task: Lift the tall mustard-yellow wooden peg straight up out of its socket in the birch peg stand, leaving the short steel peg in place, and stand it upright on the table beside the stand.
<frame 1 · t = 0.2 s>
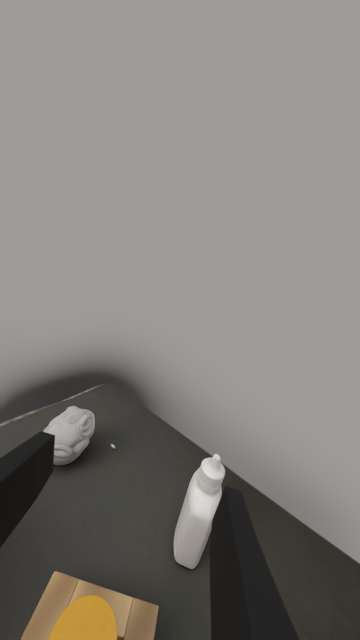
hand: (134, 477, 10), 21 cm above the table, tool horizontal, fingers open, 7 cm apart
frog figurine: (65, 457, 33), on the table
eye dropper bottle: (188, 539, 27), on the table
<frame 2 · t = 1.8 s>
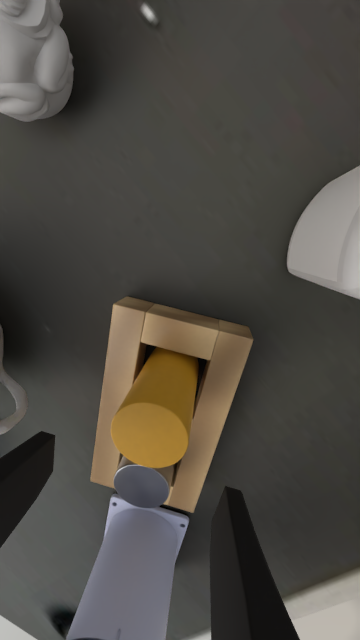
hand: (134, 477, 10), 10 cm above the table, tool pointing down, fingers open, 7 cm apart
frog figurine: (55, 83, 15), on the table
steel peg: (157, 433, 21), resting in peg stand
eye dropper bottle: (319, 234, 15), on the table
yellow peg: (173, 365, 19), resting in peg stand
peg stand: (165, 401, 20), on the table
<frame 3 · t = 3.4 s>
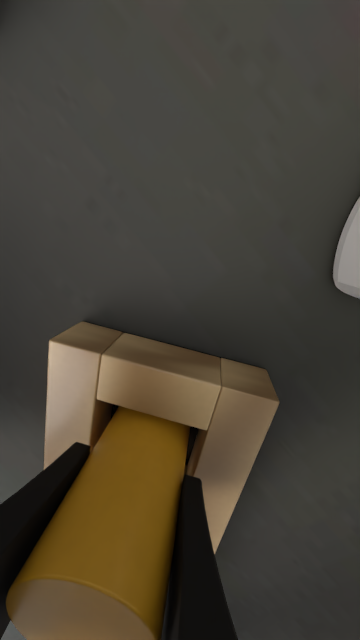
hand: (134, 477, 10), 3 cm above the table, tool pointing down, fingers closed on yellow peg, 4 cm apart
yellow peg: (153, 419, 13), resting in peg stand, touching gripper
peg stand: (143, 466, 14), on the table
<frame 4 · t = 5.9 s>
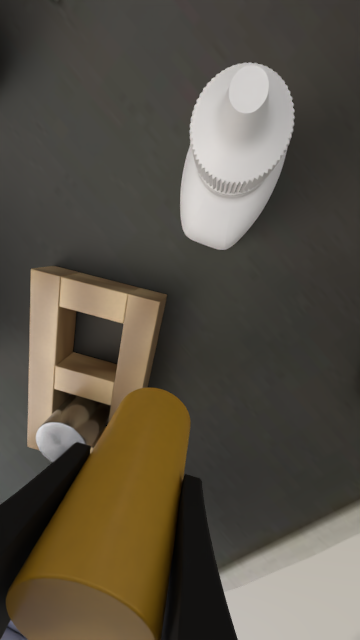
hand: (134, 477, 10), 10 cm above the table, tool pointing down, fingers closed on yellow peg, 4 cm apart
steel peg: (93, 402, 22), resting in peg stand
eye dropper bottle: (224, 203, 16), on the table
yellow peg: (153, 419, 13), point 7 cm above the table, touching gripper
peg stand: (98, 369, 21), on the table
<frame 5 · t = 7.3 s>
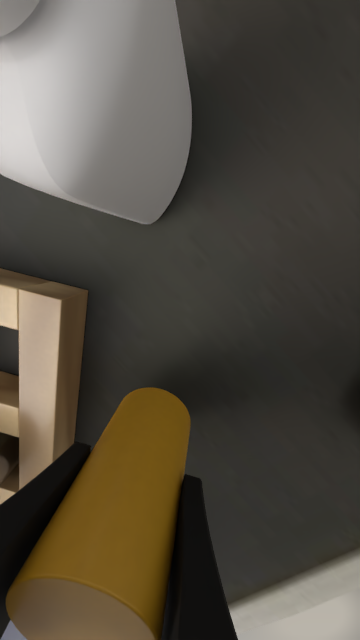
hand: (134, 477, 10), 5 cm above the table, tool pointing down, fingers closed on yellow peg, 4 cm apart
steel peg: (15, 427, 17), resting in peg stand
eye dropper bottle: (152, 160, 11), on the table
yellow peg: (154, 419, 13), point 2 cm above the table, touching gripper
peg stand: (14, 388, 16), on the table
when the fingers open (3 cm above the table, at t = 8.4 s): yellow peg stays where it is, on the table.
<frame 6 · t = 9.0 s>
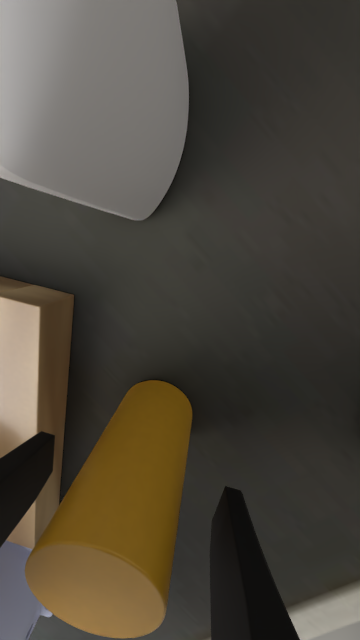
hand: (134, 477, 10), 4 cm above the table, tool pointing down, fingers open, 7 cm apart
eye dropper bottle: (143, 147, 10), on the table
yellow peg: (157, 410, 13), on the table
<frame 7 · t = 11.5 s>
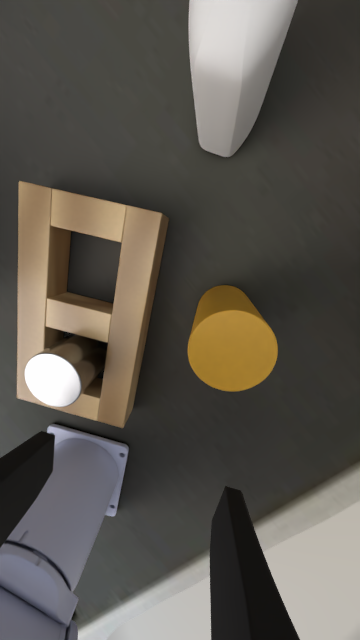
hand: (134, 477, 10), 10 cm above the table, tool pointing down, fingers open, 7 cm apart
steel peg: (89, 350, 20), resting in peg stand
eye dropper bottle: (231, 106, 14), on the table
yellow peg: (223, 311, 18), on the table
peg stand: (94, 311, 19), on the table
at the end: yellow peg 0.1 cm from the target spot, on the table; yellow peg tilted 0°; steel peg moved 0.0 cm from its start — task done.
